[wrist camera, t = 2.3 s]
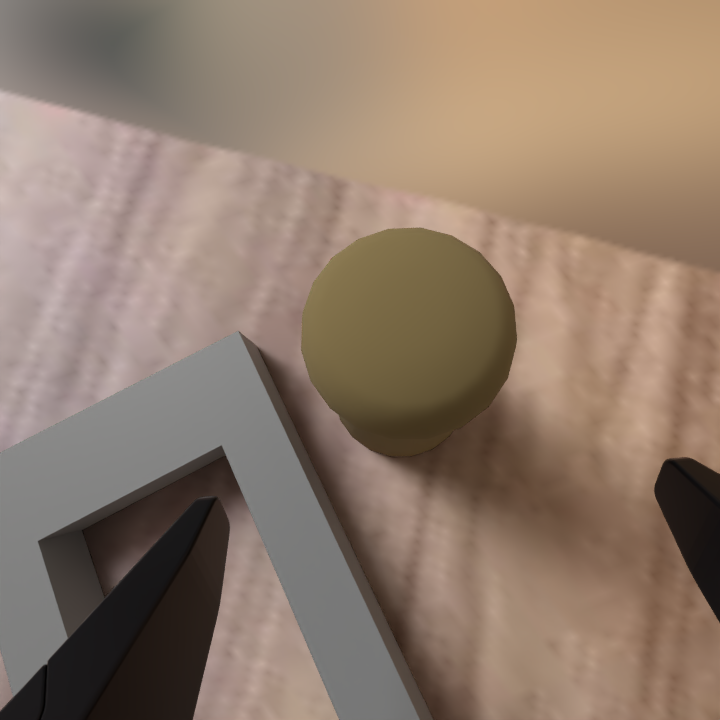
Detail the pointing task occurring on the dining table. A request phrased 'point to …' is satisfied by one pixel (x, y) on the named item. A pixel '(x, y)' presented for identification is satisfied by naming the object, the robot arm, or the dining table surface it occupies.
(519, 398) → the dining table surface
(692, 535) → the robot arm
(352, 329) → the cork
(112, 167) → the dining table surface
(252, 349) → the notched board
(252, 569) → the dining table surface
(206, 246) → the dining table surface
